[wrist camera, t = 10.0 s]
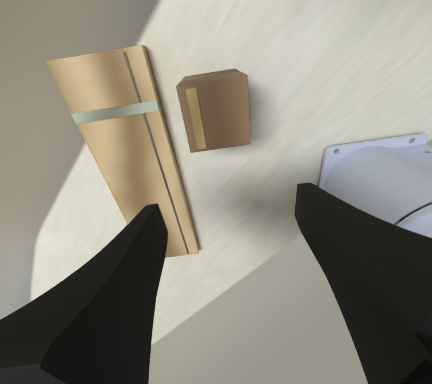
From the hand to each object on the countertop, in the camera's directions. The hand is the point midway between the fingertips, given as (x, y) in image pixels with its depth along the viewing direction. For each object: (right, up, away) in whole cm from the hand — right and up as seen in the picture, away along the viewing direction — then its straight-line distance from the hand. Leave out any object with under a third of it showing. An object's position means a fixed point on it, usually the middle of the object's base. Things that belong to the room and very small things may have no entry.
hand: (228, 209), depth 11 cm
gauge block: (-1, +9, +7) cm, 11 cm away
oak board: (-8, +2, +11) cm, 13 cm away
